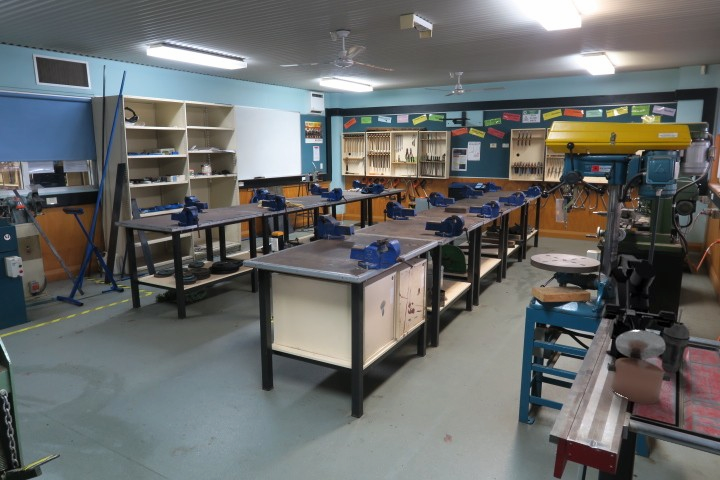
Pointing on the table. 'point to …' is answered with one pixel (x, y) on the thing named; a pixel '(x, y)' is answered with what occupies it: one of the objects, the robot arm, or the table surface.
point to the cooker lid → (640, 344)
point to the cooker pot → (637, 380)
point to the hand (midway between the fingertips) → (638, 341)
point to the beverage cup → (674, 345)
